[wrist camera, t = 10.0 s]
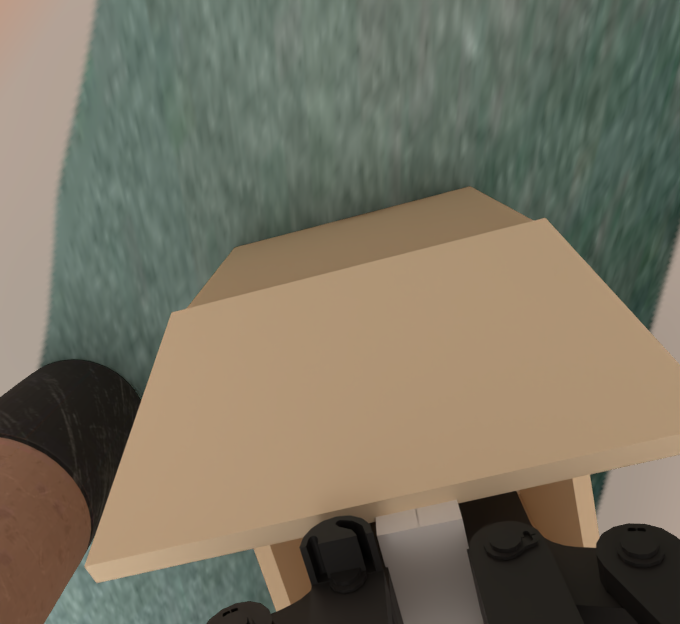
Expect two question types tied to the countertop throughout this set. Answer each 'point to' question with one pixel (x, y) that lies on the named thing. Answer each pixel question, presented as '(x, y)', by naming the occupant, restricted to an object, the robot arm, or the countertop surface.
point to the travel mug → (56, 477)
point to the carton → (363, 247)
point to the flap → (384, 398)
